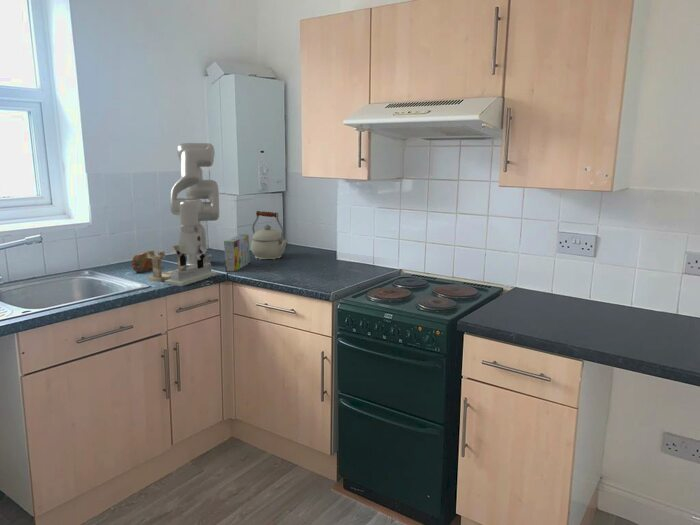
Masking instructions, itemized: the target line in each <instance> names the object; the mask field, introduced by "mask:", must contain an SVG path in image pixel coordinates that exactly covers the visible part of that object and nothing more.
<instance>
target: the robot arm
mask: <svg viewBox="0 0 700 525" xmlns="http://www.w3.org/2000/svg"><path fill="white" fill-rule="evenodd" d="M176 151H177V156H178V159H179V162H180V178H179V179H178V180H177V181H176V182H175V183H174V184H173V185H172V188H171V190H170V194H169V210H170V212H171V214H172V215H174V216H179V220H180V233H179V240H178V244H176V245H177V246H176V247H175V250H176V252H175V253H176V254H178V255H177V258H178V257H180V266H184V265H186V267H190V266H193V265H197V267H198V269H200V268H203V263H211V261H210V260H209V259H211V258H213V255H212V254H208V250H207V234H206V228H205V226H204V225H203V224H202V223H201V222H212V221H213V222H214V221H217V220H219V218H220V195H219V186H218V183H217V181H216V180H214V179H203V178H204V177H203V169H202V167H203V168H205V167H206V168H208V167H212V166H213V164H214V159H215V155H216V154H215V148H214V145H213V144H212V143H208V142H202V143H201V142H200V143H199V142H185V143H184V142H183V143H179V144H178V145H177V148H176ZM182 191H185V196H186V197H184V198H183V197H182V198H180V197H179V198H178V195H179V194H180V193H181V192H182ZM202 200H208V201H202ZM185 254H186V256H185Z"/></svg>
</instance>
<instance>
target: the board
mask: <svg viewBox="0 0 700 525" xmlns="http://www.w3.org/2000/svg"><path fill="white" fill-rule="evenodd" d="M216 274H217V275H218V271H213V270H211V272H209V273H206V274H202V275H199V276H196V277H192V278H189V279H186V280H183V281H179V282H177V281H171V279H169V280H166V281H164V284H165V285H169V284H171V285H170V286H178V287H184V286H187V285H189V284H193V283H196V282H200V281H203V280H206V279H209V278H208V277H210V276H213V275H216ZM217 275H216V276H217ZM213 277H214V276H213ZM205 278H206V279H205ZM210 278H211V277H210Z"/></svg>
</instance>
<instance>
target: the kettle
mask: <svg viewBox="0 0 700 525" xmlns="http://www.w3.org/2000/svg"><path fill="white" fill-rule="evenodd" d="M255 214H256V219H255V220H254V222H253V223H252V226H251V229H252V230H251V231H252V236H251V239H250V240H251V243H250V251H251V252H252V254H253V255H254V258H255V259H257V258H259V259H258V260H261V259H273V260H276V259H275V258H279V259H281V258H282V254H284V252H285V250H286V245H287V242H288V241H289V240H288V239H286V238H285V237H284V232H285V231H284V227H283V225H282V224H281V222H280V220H279V212H273V211H260V210H256V213H255ZM261 216H262V217H267V218H268V217H269V218H273V217H274V218H275V219H276V220H275V221H276V222H277V224H278V225H279V227H280V230H281V231H279V230H276V229H272V227H271V226H270V225H269V224H266V225H264V227H263V229H260V230H256V231H255V225H256V223H257V222H258V220H259V217H261ZM280 257H281V258H280Z"/></svg>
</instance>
